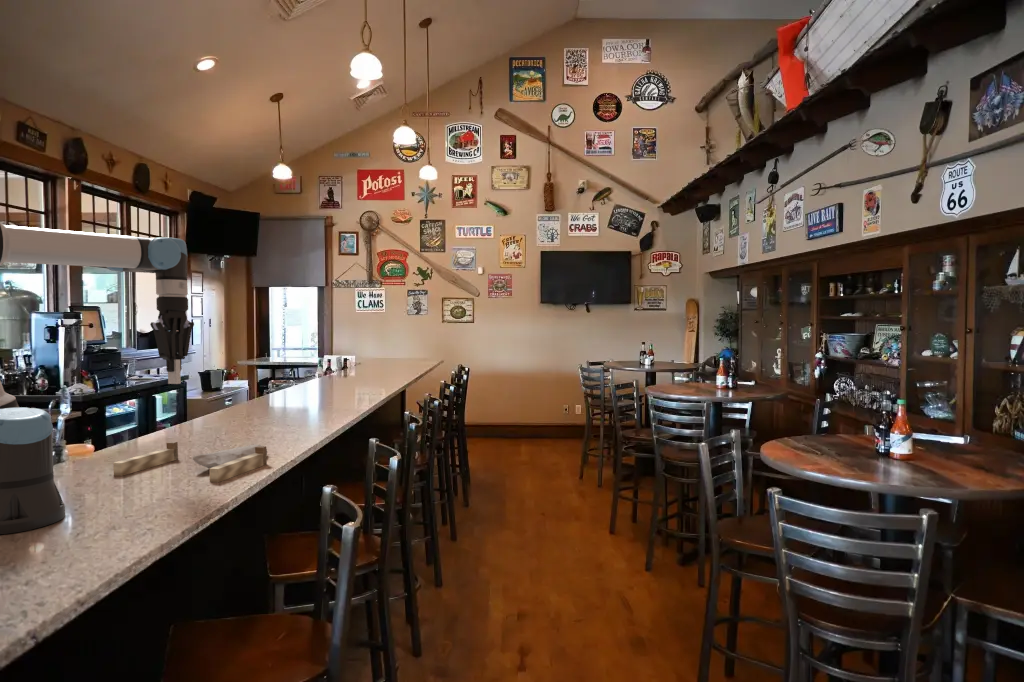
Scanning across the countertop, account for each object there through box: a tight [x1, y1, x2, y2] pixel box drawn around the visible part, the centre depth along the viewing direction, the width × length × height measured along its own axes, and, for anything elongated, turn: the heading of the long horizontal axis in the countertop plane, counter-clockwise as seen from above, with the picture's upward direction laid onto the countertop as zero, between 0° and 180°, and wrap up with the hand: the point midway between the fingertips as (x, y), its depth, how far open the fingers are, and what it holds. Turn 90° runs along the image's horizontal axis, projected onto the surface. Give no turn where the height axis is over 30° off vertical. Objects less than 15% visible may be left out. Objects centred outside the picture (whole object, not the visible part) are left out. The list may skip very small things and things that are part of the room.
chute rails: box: [112, 441, 268, 483], centre depth 173 cm, size 20×33×5 cm, turn 76°
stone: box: [192, 444, 268, 469], centre depth 180 cm, size 12×5×25 cm
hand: (174, 383), depth 168 cm, fingers closed
